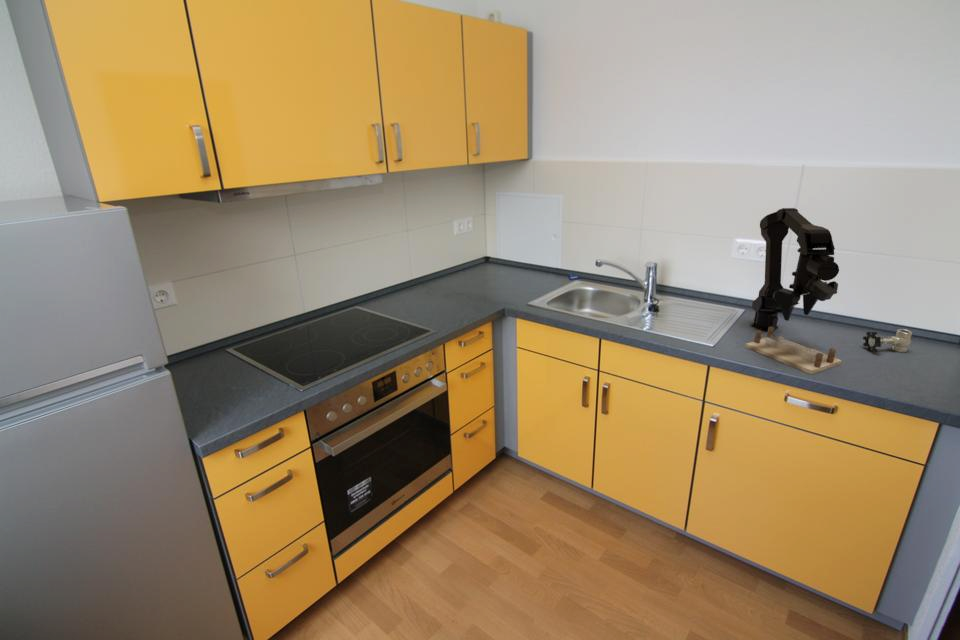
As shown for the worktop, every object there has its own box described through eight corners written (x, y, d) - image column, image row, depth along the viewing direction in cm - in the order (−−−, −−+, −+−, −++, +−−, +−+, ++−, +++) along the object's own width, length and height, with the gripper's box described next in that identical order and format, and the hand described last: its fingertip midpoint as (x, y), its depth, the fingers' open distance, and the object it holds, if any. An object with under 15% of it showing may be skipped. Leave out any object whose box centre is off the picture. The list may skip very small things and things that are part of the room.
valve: (897, 345, 162) (860, 346, 162) (903, 326, 159) (865, 327, 159) (913, 354, 155) (875, 355, 156) (920, 335, 153) (880, 336, 153)
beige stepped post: (765, 343, 163) (766, 336, 162) (773, 341, 164) (774, 334, 164) (812, 362, 150) (814, 355, 149) (820, 359, 151) (822, 352, 150)
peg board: (744, 346, 164) (747, 332, 162) (773, 338, 170) (776, 324, 168) (811, 374, 146) (815, 358, 144) (840, 363, 151) (844, 348, 149)
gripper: (813, 282, 141) (801, 332, 147) (854, 272, 148) (841, 320, 154) (777, 272, 150) (767, 319, 156) (817, 262, 157) (806, 308, 163)
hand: (796, 317), depth 157 cm, fingers open, 9 cm apart
